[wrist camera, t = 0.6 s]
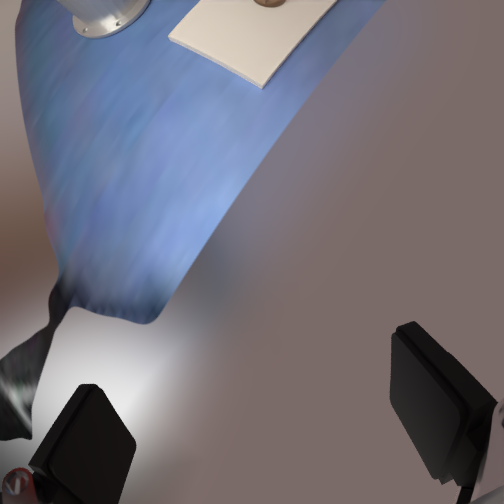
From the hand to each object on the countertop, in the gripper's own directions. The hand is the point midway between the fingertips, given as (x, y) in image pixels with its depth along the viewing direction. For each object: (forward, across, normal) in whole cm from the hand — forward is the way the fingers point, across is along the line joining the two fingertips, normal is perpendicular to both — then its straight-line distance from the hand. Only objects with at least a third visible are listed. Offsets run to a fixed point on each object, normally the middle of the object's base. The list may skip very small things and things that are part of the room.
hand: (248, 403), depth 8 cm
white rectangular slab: (+29, -10, -30) cm, 43 cm away
